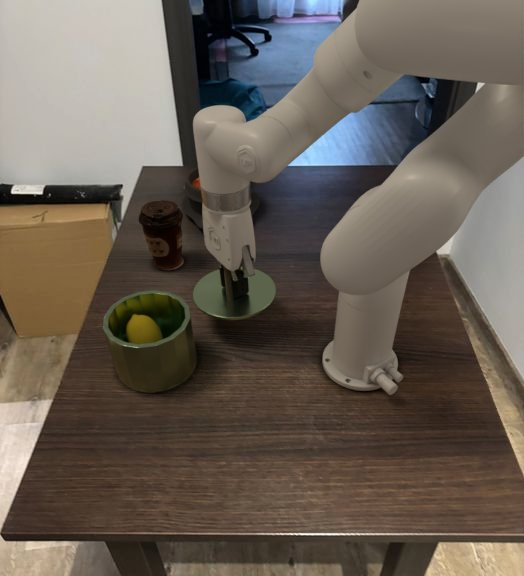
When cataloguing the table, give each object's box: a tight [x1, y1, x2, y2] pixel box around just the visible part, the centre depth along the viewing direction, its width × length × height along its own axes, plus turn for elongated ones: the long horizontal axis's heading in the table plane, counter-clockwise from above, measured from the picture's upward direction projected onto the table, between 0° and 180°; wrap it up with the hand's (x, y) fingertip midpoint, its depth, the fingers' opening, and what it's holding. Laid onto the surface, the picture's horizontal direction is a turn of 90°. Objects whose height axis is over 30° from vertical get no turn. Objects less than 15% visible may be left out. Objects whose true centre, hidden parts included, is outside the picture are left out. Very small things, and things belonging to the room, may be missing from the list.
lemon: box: [126, 314, 163, 344], centre depth 89 cm, size 6×6×8 cm
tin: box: [102, 289, 198, 394], centre depth 87 cm, size 14×14×10 cm
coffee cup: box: [138, 199, 184, 271], centre depth 107 cm, size 9×8×13 cm
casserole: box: [181, 167, 260, 230], centre depth 124 cm, size 25×19×8 cm
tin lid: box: [192, 266, 277, 321], centre depth 92 cm, size 15×15×7 cm
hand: (235, 288), depth 93 cm, fingers closed on tin lid, 3 cm apart
